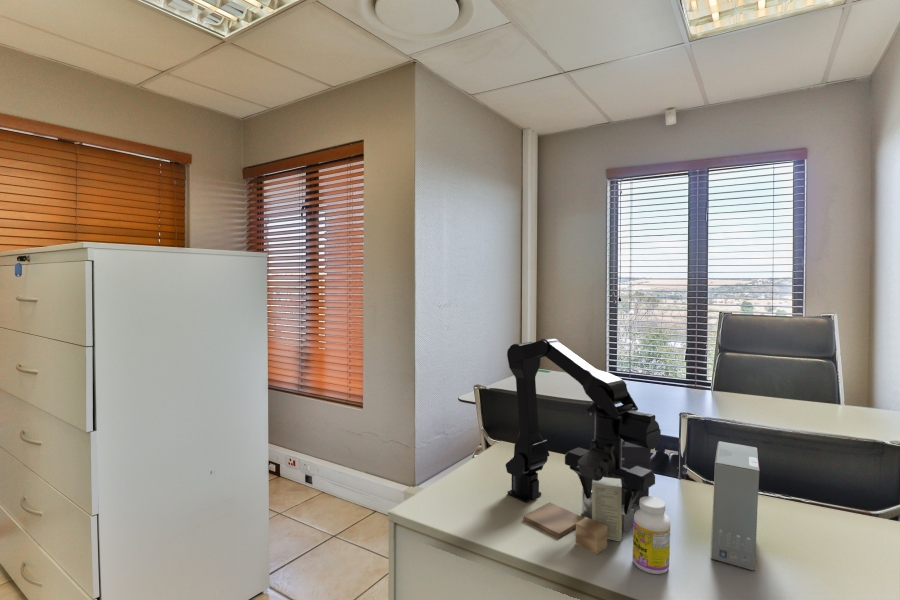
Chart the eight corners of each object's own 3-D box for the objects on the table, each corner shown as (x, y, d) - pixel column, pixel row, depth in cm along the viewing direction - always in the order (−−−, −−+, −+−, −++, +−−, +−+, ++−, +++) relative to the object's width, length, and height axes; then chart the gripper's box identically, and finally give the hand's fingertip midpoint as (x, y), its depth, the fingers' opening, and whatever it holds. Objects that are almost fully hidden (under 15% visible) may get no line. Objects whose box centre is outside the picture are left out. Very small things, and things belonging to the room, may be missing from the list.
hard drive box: (755, 573, 90) (759, 471, 88) (710, 560, 94) (713, 462, 93) (754, 535, 103) (757, 446, 102) (714, 525, 107) (716, 439, 106)
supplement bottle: (626, 555, 95) (627, 494, 94) (657, 554, 95) (659, 493, 95) (642, 577, 88) (644, 510, 88) (676, 575, 89) (678, 509, 88)
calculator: (643, 499, 119) (645, 441, 118) (649, 507, 115) (650, 447, 114) (599, 496, 120) (600, 439, 119) (603, 505, 116) (604, 445, 115)
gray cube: (607, 525, 107) (608, 508, 107) (616, 519, 109) (617, 502, 109) (623, 532, 104) (624, 514, 104) (632, 526, 106) (633, 509, 106)
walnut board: (523, 519, 109) (523, 515, 109) (549, 506, 115) (549, 502, 115) (559, 538, 101) (559, 533, 101) (585, 522, 108) (585, 517, 108)
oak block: (575, 543, 99) (576, 523, 99) (586, 537, 102) (586, 516, 102) (596, 554, 95) (597, 533, 95) (607, 547, 98) (607, 526, 98)
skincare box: (621, 532, 104) (622, 478, 103) (621, 542, 99) (622, 487, 99) (591, 527, 106) (592, 474, 105) (590, 537, 102) (591, 482, 101)
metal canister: (578, 514, 111) (579, 489, 111) (588, 509, 114) (588, 485, 114) (593, 521, 108) (594, 495, 108) (602, 515, 111) (603, 490, 111)
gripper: (550, 433, 103) (549, 501, 104) (630, 457, 89) (628, 537, 90) (579, 422, 111) (578, 487, 111) (657, 444, 97) (655, 517, 97)
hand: (606, 505), depth 102 cm, fingers open, 9 cm apart
